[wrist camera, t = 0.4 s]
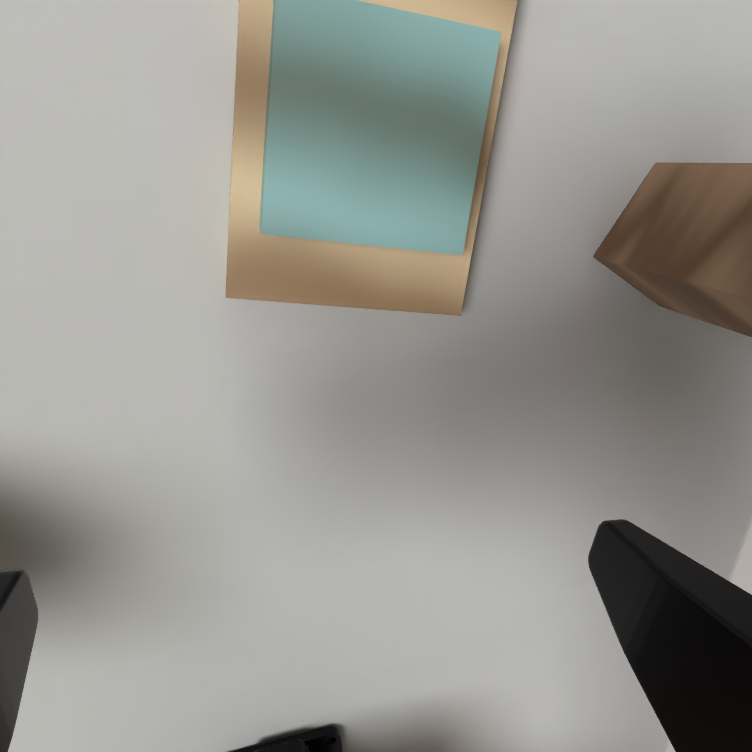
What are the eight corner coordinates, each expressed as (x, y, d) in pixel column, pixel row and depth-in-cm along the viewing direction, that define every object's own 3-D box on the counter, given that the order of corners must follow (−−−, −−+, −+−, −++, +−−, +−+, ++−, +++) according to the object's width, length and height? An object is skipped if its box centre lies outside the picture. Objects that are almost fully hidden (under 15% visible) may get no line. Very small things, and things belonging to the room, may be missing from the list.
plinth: (447, 306, 24) (475, 325, 21) (225, 289, 22) (225, 307, 19) (504, -26, 20) (547, -55, 18) (243, -91, 18) (245, -135, 15)
